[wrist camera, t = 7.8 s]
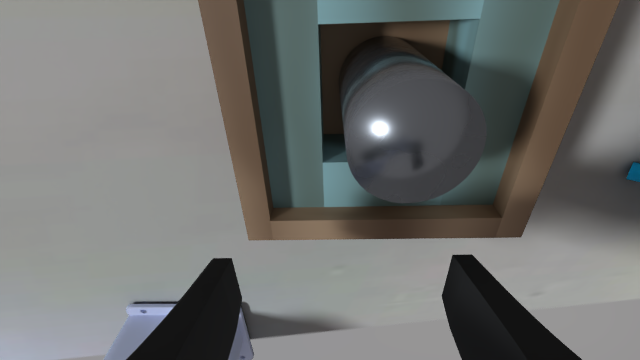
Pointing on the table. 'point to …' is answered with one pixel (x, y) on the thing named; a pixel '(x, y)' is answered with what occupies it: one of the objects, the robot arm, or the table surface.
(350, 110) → the peg
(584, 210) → the table surface
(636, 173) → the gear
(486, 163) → the bore box
